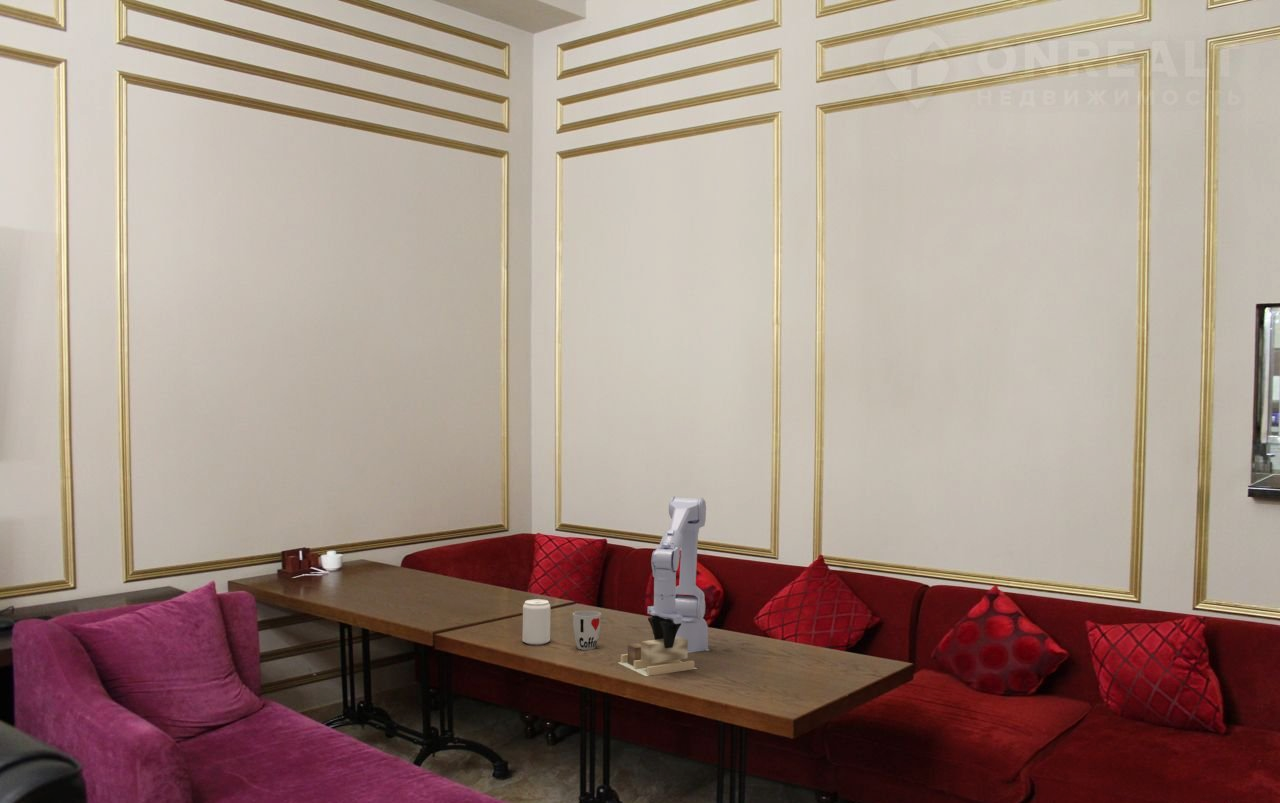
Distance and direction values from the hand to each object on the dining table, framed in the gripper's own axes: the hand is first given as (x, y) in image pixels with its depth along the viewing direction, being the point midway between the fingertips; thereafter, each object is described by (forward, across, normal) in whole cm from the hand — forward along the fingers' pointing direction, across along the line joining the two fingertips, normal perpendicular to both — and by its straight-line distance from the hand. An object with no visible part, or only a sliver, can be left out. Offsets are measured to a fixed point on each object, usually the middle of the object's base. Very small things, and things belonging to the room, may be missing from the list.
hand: (664, 645), depth 259 cm
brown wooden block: (+6, -7, 0) cm, 9 cm away
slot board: (+7, -4, 0) cm, 7 cm away
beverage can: (+7, -44, -17) cm, 48 cm away
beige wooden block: (+4, 0, 0) cm, 4 cm away
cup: (+7, -32, -7) cm, 33 cm away
